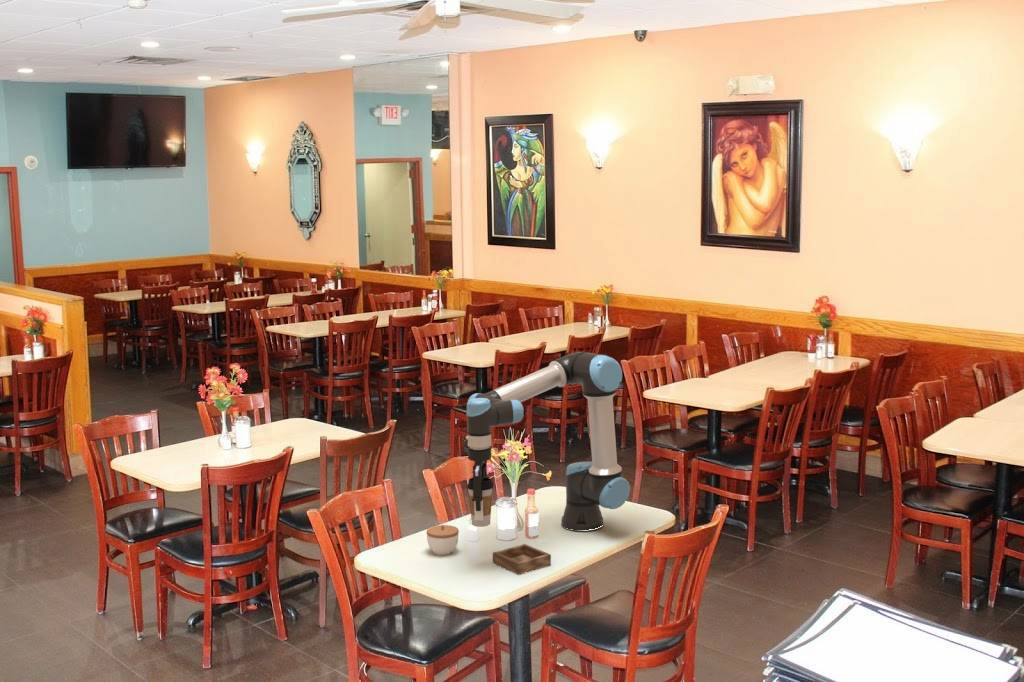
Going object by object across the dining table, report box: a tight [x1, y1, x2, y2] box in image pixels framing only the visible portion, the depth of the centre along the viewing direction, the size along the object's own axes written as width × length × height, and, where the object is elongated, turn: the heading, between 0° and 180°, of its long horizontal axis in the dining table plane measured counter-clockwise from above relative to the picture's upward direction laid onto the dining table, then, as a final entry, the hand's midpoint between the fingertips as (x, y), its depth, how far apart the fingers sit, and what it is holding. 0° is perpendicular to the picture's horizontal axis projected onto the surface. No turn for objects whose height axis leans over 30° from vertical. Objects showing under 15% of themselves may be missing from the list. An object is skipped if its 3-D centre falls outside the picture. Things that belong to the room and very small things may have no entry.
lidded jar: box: [426, 524, 460, 556], centre depth 353 cm, size 11×11×9 cm
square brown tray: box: [492, 543, 552, 576], centre depth 341 cm, size 13×13×4 cm
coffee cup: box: [466, 476, 494, 528], centre depth 338 cm, size 8×8×15 cm
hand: (481, 515), depth 338 cm, fingers closed on coffee cup, 8 cm apart
